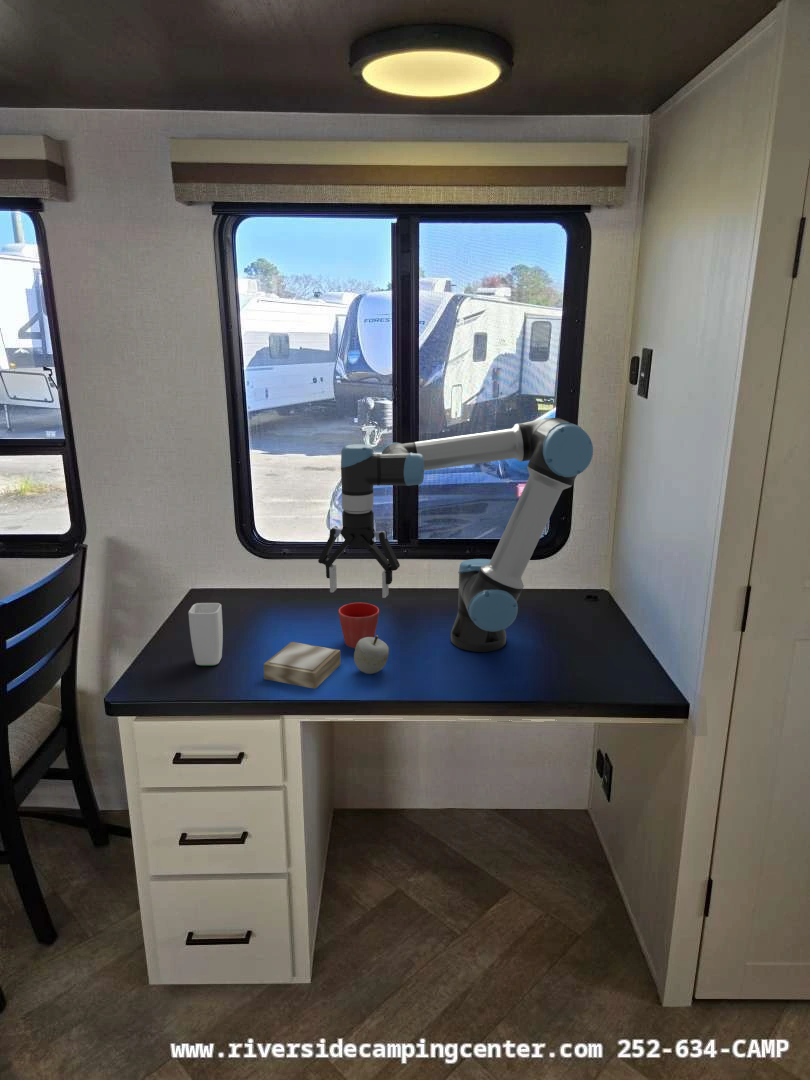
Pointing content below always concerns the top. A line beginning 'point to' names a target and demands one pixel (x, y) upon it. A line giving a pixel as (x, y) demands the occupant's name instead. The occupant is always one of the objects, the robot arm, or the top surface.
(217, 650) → the cup
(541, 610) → the top surface
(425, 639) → the top surface
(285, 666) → the plinth
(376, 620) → the flower pot
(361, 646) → the decorative object
